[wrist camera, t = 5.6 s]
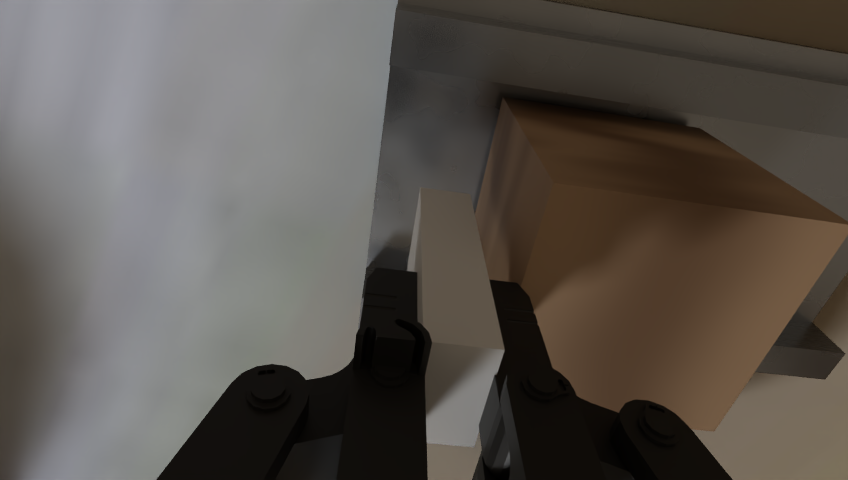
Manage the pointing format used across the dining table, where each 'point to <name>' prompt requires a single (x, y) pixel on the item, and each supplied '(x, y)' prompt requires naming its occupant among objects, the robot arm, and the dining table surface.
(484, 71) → the grey tray
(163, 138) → the dining table surface
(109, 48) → the dining table surface
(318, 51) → the dining table surface
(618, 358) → the block
